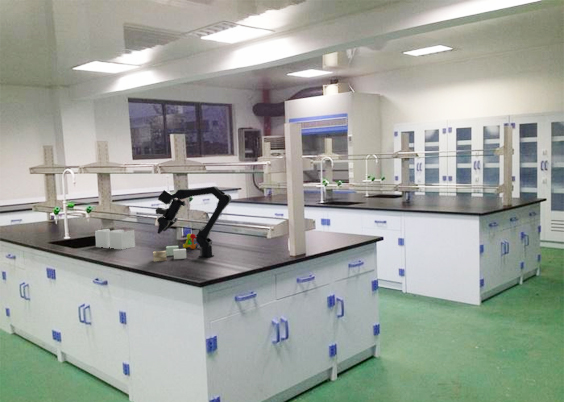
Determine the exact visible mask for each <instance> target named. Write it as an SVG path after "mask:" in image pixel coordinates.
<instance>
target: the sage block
mask: <svg viewBox="0 0 564 402" xmlns="http://www.w3.org/2000/svg"><path fill="white" fill-rule="evenodd" d="M173 249H179V245H167V246H166V247H165V251H166V257H169V256H170V257H171V256H174V253H173Z"/></svg>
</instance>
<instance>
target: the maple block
mask: <svg viewBox="0 0 564 402" xmlns="http://www.w3.org/2000/svg"><path fill="white" fill-rule="evenodd" d="M152 254H153V256H152V259H153V262H165V261H167V259H168V258H167V254H166V250H158V251H153V252H152Z"/></svg>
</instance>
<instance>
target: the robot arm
mask: <svg viewBox="0 0 564 402" xmlns="http://www.w3.org/2000/svg"><path fill="white" fill-rule="evenodd" d="M204 195H213V196H214V197H215V198H216V199H217V200H218V202H217V203H216V204H217V205H216V208H215V209H214V211H213V213H212V214H211V216H210V218H209V219H208V221H207V223H206V225H205V226H204V227H203V228H200V229H199V230H198V233H197V234H195V237H196V239H195V240H196V243H198V246H199V247H200V248H199V249H200V251H199V253H200V254H199V255H198V257H199V258H205V259H206V258H212V257H215V255H214V254H213V246H212V244H213V240H212V239H211V238H210V236H211V232H212V229H213V228H214V226H215V224H216V222H217V221H218V219H219V217H220V216H221V214H222V213H223V211H224V210H225V209H226V207H228V205H229V204H230V203H231V202H232V196H231V195H230V193H225V192H224V191H223V190H221V189H219V188H218V187H217V186H215V185H214V186H210V187H202V188H196V189H195V188H194V189H189V188H181V189H177V190H176V191H175V193H171V192H169V191H168V190H166V189H164V190H162V192H161V194H160V195H159V196H158V199H157V200H158V201H160V202H161V203H163V204H165V205H169V207H167V208H163V207H157V208H155V210H154V211H155V214H156V215H162V216H159V217H158V219H156V220H157V223H158V228H157V234H159V235H160V234H161V233H162V232H166V231H167V230H169V228H171V227H172V226H173V225H174V224H176V223H177V221H178V220H179V219H178V216H177V215H178V214H179V210H180V209H181V207H182V206H183V207H186V206H187V203H186V201H185V199H187V198H192V197H195V196H204Z"/></svg>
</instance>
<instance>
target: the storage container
mask: <svg viewBox="0 0 564 402" xmlns="http://www.w3.org/2000/svg"><path fill="white" fill-rule="evenodd" d="M94 232H95V233H94V234H95V248H101V247H103V248H104V249H109V247H110V249H111V248H114V250H121V249H122V250H125V249H126V248H127V249H131V248H135V247H136V237H135V234H136V233H135V230H128V231H125V229H113V230H110V228H104V229H99V230H94Z"/></svg>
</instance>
